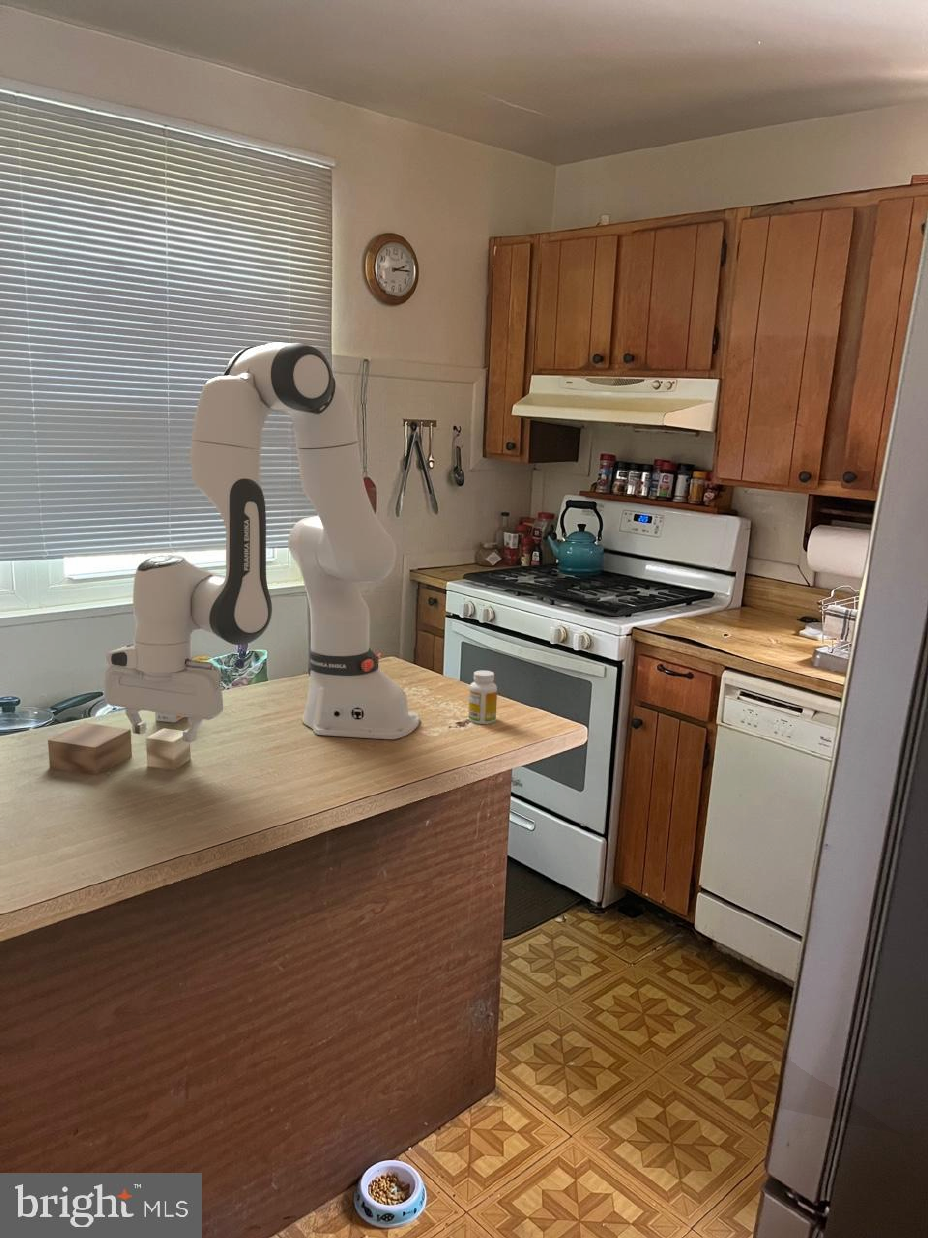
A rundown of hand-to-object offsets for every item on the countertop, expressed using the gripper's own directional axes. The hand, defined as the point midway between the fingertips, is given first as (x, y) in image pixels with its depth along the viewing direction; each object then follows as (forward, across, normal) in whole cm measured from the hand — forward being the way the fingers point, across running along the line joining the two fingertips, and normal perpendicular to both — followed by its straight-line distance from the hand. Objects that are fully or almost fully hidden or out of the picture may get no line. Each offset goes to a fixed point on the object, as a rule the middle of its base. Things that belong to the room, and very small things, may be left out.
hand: (164, 737), depth 148 cm
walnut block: (+5, +12, +3) cm, 13 cm away
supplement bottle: (+4, -44, -41) cm, 60 cm away
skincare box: (+5, +12, -21) cm, 24 cm away
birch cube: (+5, 0, -1) cm, 5 cm away
